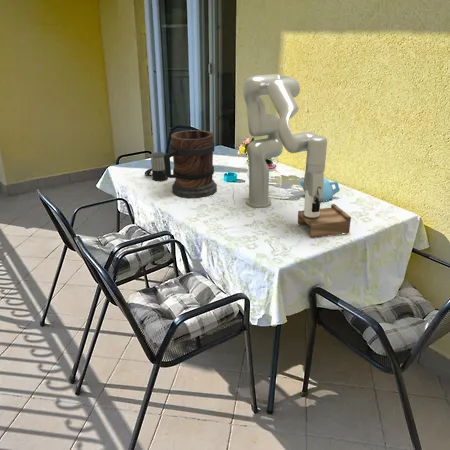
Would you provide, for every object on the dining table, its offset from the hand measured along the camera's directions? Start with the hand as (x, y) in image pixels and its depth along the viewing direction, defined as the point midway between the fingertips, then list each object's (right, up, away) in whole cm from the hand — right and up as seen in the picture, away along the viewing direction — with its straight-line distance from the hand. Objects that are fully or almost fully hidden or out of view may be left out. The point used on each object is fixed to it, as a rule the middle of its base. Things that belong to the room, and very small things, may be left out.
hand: (312, 208), depth 180 cm
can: (0, -3, +1) cm, 3 cm away
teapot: (+11, +7, +39) cm, 41 cm away
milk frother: (-77, +21, +72) cm, 107 cm away
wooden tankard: (-55, +10, +49) cm, 74 cm away
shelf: (+6, -9, +5) cm, 11 cm away
